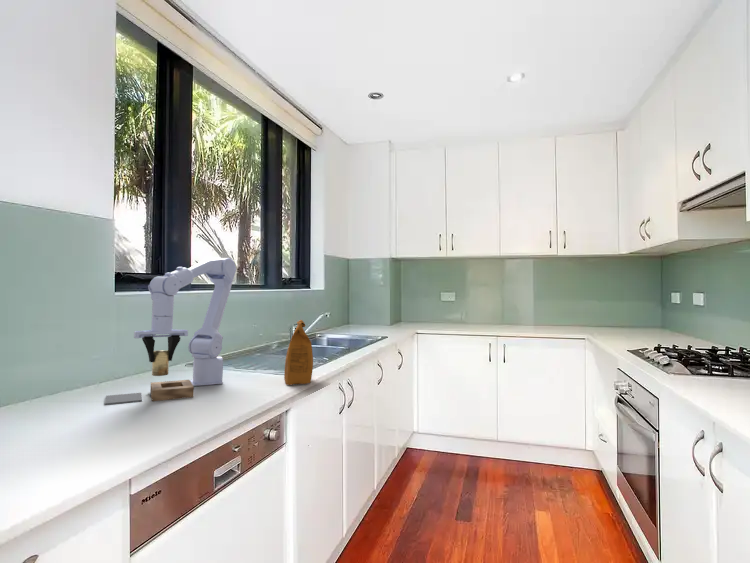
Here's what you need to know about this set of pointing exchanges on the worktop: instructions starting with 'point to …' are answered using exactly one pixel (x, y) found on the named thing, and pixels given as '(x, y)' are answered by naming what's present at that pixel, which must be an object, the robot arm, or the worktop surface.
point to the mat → (123, 398)
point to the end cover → (160, 363)
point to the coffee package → (299, 358)
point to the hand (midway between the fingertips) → (160, 361)
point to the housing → (171, 390)
